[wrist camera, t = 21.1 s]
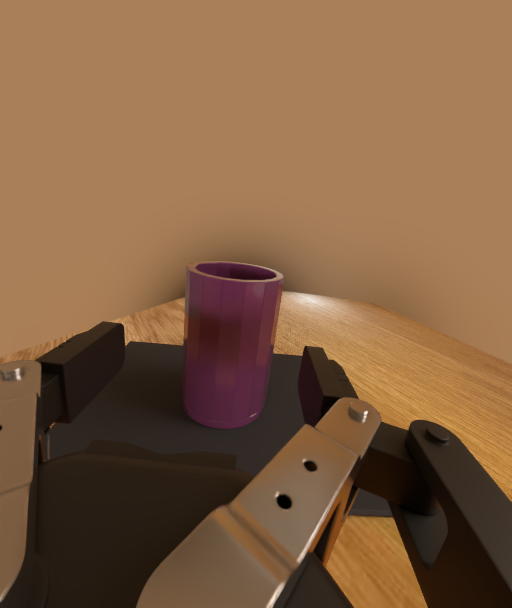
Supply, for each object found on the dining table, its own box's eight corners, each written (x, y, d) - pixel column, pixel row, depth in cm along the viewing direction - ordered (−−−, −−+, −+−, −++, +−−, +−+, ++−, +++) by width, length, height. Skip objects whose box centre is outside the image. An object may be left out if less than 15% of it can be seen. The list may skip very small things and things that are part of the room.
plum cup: (172, 426, 17) (176, 274, 14) (190, 373, 23) (196, 257, 20) (267, 432, 18) (290, 286, 15) (262, 379, 24) (278, 266, 21)
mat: (-9, 500, 12) (-11, 494, 12) (130, 344, 28) (130, 341, 28) (404, 517, 14) (406, 512, 14) (320, 360, 29) (321, 357, 29)
